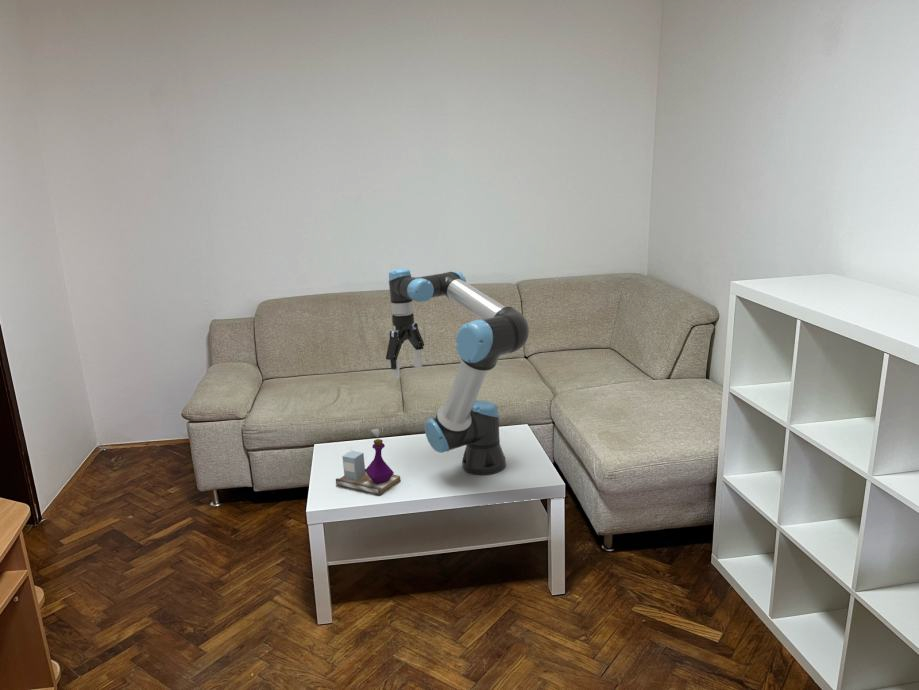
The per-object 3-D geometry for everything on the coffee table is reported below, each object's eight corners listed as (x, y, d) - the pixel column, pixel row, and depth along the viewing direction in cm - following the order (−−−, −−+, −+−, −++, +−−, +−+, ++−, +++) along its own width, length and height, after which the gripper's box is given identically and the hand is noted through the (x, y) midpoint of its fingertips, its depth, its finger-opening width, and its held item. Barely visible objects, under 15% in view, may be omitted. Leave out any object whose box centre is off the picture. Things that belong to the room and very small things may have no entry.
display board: (400, 481, 242) (400, 474, 241) (379, 496, 232) (378, 488, 231) (358, 472, 251) (357, 465, 250) (336, 486, 241) (335, 479, 240)
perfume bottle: (395, 481, 237) (390, 430, 232) (373, 487, 233) (368, 435, 229) (386, 474, 243) (381, 423, 239) (365, 479, 240) (360, 428, 235)
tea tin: (365, 474, 244) (363, 452, 242) (356, 480, 239) (353, 458, 237) (354, 472, 246) (351, 450, 244) (344, 478, 242) (342, 456, 240)
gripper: (413, 305, 261) (418, 361, 267) (372, 320, 241) (377, 381, 246) (431, 306, 258) (435, 363, 263) (390, 322, 237) (395, 383, 242)
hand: (407, 372), depth 254 cm, fingers open, 13 cm apart
